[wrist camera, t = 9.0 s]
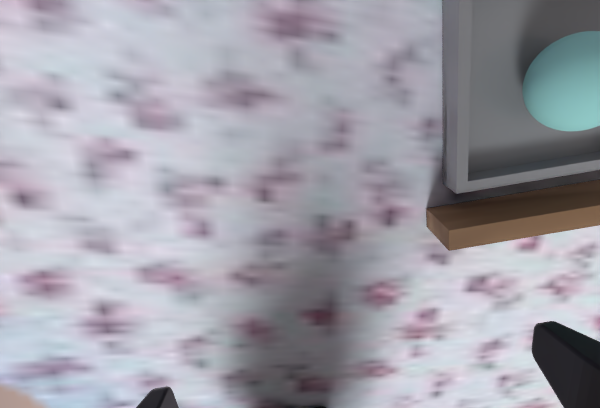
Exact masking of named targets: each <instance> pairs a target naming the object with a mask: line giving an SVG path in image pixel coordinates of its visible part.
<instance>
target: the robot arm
mask: <svg viewBox="0 0 600 408" xmlns="http://www.w3.org/2000/svg"><path fill="white" fill-rule="evenodd" d="M532 354H533V357H534V359H535V361H536V362H537V364H538V366H539V367H540V369H541V371H542V372H543V374H544V376H545V377H546V379H547V381H548V382H549V384H550V386H551V387H552V389H553V390H554V392H555V394H556V395H557V397H558V399H559V400H560V402H561V404H562V405H563V407H564V408H600V342H599V341H597V340H594V339H592V338H590V337H588V336H586V335H583V334H581V333H579V332H577V331H575V330H572V329H570V328H568V327H566V326H564V325H561V324H559V323H557V322H554V321H549V322H543V323H538V324H536V325H535V327H534V334H533V342H532ZM136 408H179V407H178V405H177V402H176V399H175V397H174V394H173V391H172V389H171V388H170V387H161V388H155V389H153V390H151V391H150V392H149V393H148V394H147V396H146V397H145V398H144V399H143V400H142V401H141V403H140V404H139V405H138V406H137V407H136ZM316 408H326V407H316Z"/></svg>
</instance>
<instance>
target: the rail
mask: <svg viewBox="0 0 600 408" xmlns="http://www.w3.org/2000/svg"><path fill="white" fill-rule="evenodd" d="M426 212H427V227H428V228H429V230H430V231H431V232H432V233H433V234H434V235H435V236H436V237H437V238H438V239H439V240H440V242H441V243H442V244H443V245H444V246H445V247H446V248H447V249H448V250H449V251H450V250H456V249H462V248H467V247H473V246H479V245H485V244H491V243H497V242H503V241H509V240H515V239H521V238H526V237H532V236H538V235H544V234H550V233H556V232H562V231H568V230H574V229H580V228H585V227H591V226H597V225H600V180H594V181H588V182H582V183H576V184H570V185H564V186H558V187H552V188H546V189H540V190H534V191H528V192H522V193H516V194H510V195H504V196H498V197H492V198H486V199H480V200H475V201H469V202H463V203H457V204H451V205H445V206H439V207H433V208H427V209H426Z"/></svg>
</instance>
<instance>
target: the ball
mask: <svg viewBox="0 0 600 408" xmlns="http://www.w3.org/2000/svg"><path fill="white" fill-rule="evenodd" d="M522 93H523V99H524V103H525V106H526V108H527V110H528V111H529V113H530V114H531V115H532V116H533V117H534V118H535V119H536V120H537V121H538V122H540V123H541V124H543V125H545V126H547V127H549V128H552V129H556V130H561V131H582V130H587V129H591V128H594V127H597V126H600V31H584V32H578V33H574V34H571V35H568V36H565V37H563V38H561V39H559V40H557V41H555V42H553V43H552V44H550V45H549V46H548V47H546V48H545V49H544V50H543V51H541V52H540V53H539V54H538V56H537V57H536V58H535V59H534V60H533V62H532V63H531V65H530V66H529V68H528V70H527V72H526V75H525V77H524V81H523V88H522Z"/></svg>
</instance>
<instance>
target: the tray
mask: <svg viewBox="0 0 600 408" xmlns="http://www.w3.org/2000/svg"><path fill="white" fill-rule="evenodd" d="M584 31H600V0H443V184H444V185H445V186H447V187H448V188H449V189H451V190H452V191H453V192H455V193H456V194H459V193H465V192H471V191H477V190H483V189H489V188H495V187H501V186H507V185H513V184H519V183H525V182H531V181H537V180H542V179H548V178H554V177H560V176H566V175H572V174H578V173H584V172H590V171H596V170H600V126H597V127H594V128H591V129H587V130H582V131H561V130H556V129H552V128H549V127H547V126H545V125H543V124H541V123H540V122H538V121H537V120H536V119H535V118H534V117H533V116H532V115H531V114H530V113H529V111H528V110H527V108H526V106H525V103H524V99H523V93H522V88H523V81H524V77H525V75H526V72H527V70H528V68H529V66H530V65H531V63H532V62H533V60H534V59H535V58H536V57H537V56H538V54H539V53H540V52H541V51H543V50H544V49H545V48H546V47H548V46H549V45H550V44H552V43H553V42H555V41H557V40H559V39H561V38H563V37H565V36H568V35H571V34H574V33H578V32H584Z"/></svg>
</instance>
